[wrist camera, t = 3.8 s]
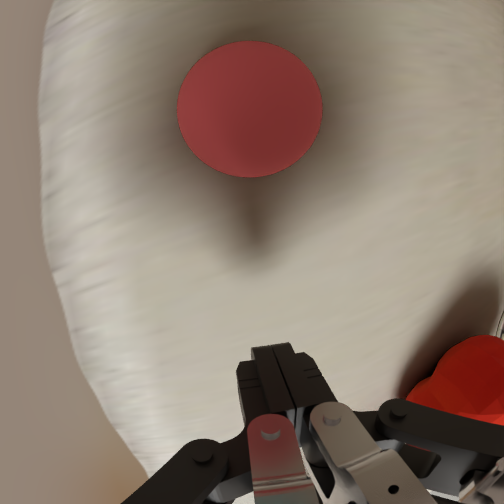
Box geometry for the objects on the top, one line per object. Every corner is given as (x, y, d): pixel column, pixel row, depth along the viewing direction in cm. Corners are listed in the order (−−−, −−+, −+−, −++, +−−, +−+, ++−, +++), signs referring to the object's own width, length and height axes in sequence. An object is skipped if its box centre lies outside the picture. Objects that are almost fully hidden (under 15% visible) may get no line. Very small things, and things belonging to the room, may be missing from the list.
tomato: (497, 308, 21) (566, 354, 11) (454, 404, 24) (500, 454, 14) (410, 331, 18) (502, 418, 8) (365, 440, 22) (409, 517, 12)
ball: (181, 70, 11) (169, 18, 6) (293, 69, 12) (339, 26, 7) (185, 179, 13) (172, 188, 8) (298, 173, 14) (352, 179, 9)
